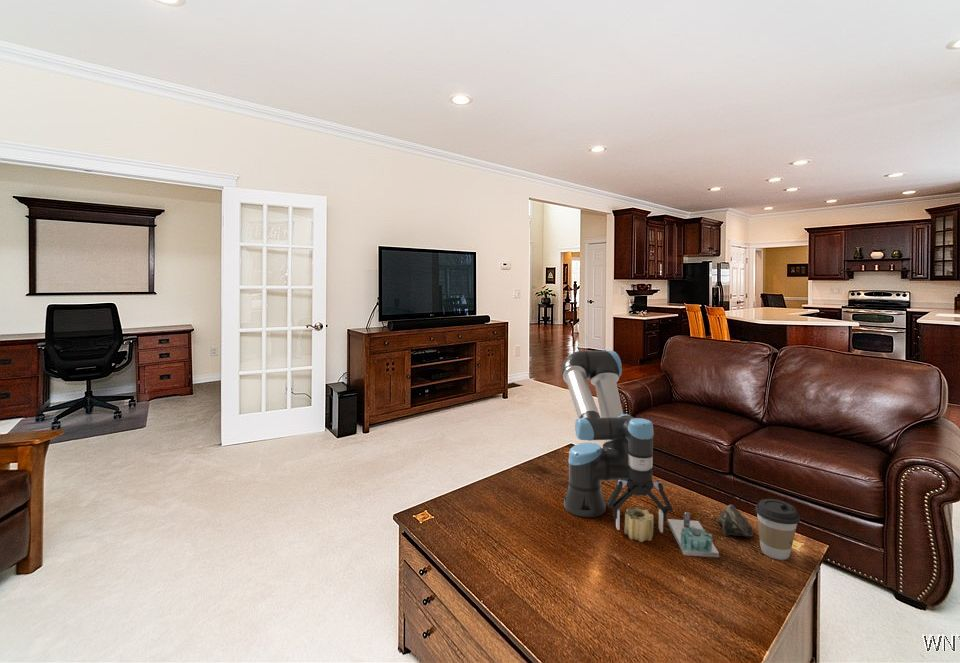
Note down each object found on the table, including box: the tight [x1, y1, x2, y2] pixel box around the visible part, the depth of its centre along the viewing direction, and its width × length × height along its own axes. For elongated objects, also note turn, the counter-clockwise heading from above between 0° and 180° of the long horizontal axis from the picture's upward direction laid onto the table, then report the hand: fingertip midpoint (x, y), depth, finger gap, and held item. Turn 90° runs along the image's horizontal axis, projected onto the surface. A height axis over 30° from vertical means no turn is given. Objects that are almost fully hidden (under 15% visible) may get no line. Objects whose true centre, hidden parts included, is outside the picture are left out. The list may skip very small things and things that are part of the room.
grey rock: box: [717, 504, 754, 539], centre depth 144 cm, size 11×9×10 cm
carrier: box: [666, 511, 720, 559], centre depth 140 cm, size 10×18×6 cm, turn 171°
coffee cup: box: [754, 498, 801, 561], centre depth 132 cm, size 11×11×15 cm
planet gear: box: [624, 507, 654, 543], centre depth 143 cm, size 9×9×7 cm
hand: (639, 529), depth 143 cm, fingers open, 13 cm apart
